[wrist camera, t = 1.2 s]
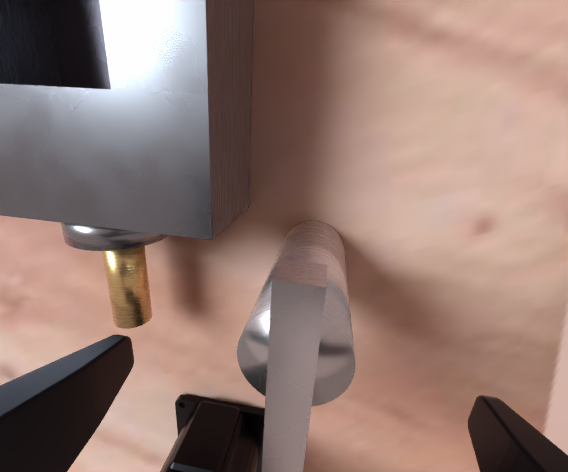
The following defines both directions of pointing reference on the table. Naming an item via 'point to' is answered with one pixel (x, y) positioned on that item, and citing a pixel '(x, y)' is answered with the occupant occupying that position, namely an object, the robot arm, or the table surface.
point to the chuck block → (126, 125)
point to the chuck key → (299, 340)
